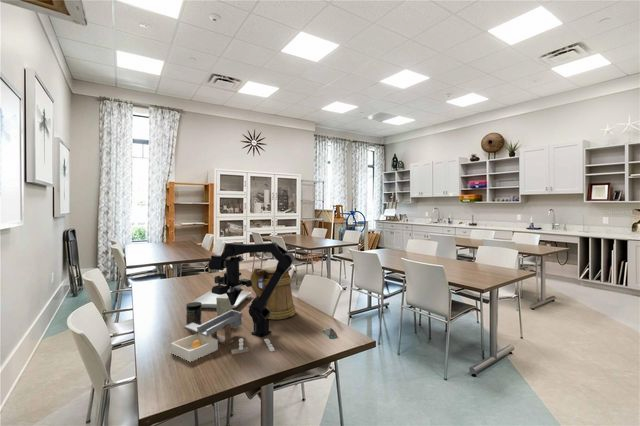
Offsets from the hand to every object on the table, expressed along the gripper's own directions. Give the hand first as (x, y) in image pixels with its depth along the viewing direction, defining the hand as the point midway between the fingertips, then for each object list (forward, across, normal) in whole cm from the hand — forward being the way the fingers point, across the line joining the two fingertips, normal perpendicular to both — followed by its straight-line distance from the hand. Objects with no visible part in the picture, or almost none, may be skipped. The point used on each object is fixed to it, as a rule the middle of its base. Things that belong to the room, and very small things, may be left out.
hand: (232, 305), depth 142 cm
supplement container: (+12, +6, -20) cm, 24 cm away
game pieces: (+13, -6, +26) cm, 30 cm away
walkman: (+12, -48, -28) cm, 57 cm away
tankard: (+12, -27, 0) cm, 30 cm away
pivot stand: (+12, +9, +3) cm, 15 cm away
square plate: (+13, -25, -38) cm, 47 cm away
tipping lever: (+9, +9, -1) cm, 12 cm away
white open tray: (+12, +22, +3) cm, 25 cm away
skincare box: (+12, -6, -13) cm, 19 cm away
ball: (+10, +20, +3) cm, 23 cm away
